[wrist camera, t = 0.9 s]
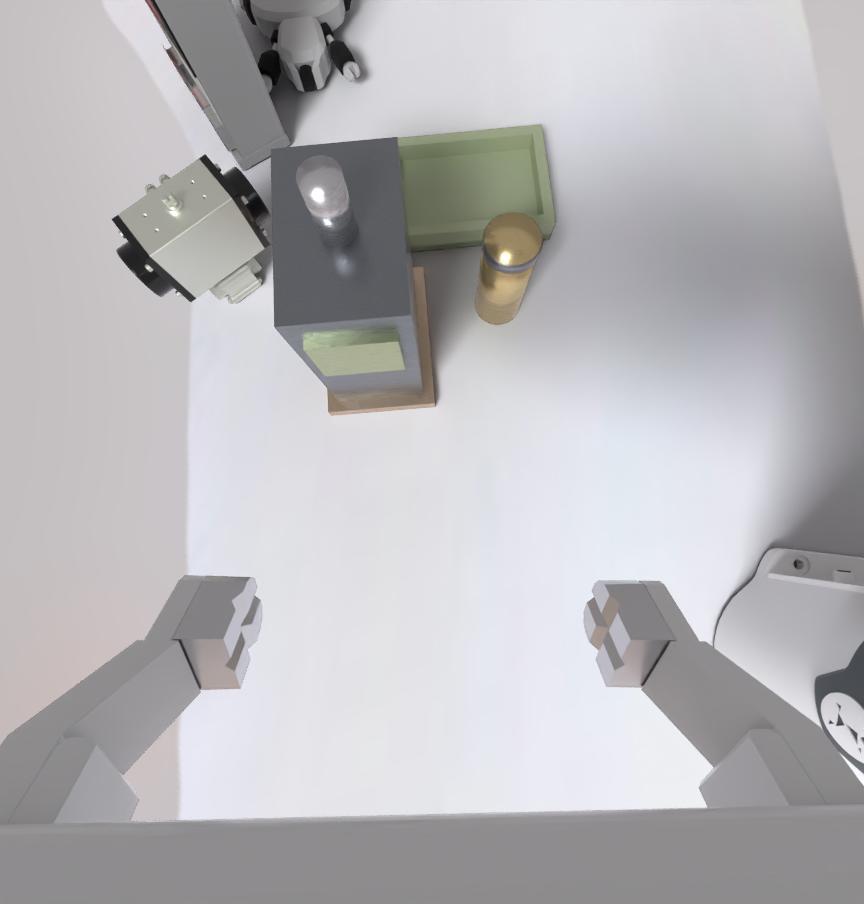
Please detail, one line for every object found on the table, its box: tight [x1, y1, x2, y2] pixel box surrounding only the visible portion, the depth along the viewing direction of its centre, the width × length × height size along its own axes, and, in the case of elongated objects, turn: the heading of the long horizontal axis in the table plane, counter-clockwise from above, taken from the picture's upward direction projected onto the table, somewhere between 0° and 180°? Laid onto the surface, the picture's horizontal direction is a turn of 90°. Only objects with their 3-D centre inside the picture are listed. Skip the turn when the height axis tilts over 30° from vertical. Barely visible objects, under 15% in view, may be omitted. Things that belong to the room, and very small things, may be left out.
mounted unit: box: [271, 137, 435, 415], centre depth 32 cm, size 10×14×21 cm
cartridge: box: [475, 212, 543, 325], centre depth 38 cm, size 5×5×10 cm
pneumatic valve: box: [112, 155, 271, 304], centre depth 38 cm, size 6×12×12 cm, turn 129°
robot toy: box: [240, 0, 361, 93], centre depth 46 cm, size 12×4×15 cm
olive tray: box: [397, 124, 556, 252], centre depth 43 cm, size 16×11×2 cm
